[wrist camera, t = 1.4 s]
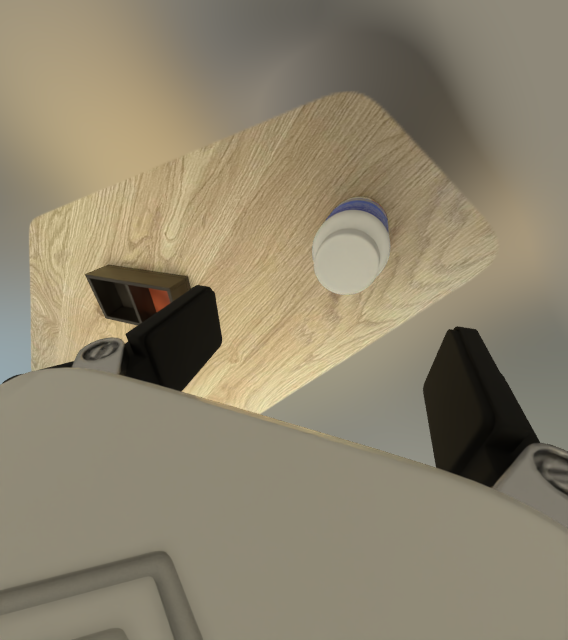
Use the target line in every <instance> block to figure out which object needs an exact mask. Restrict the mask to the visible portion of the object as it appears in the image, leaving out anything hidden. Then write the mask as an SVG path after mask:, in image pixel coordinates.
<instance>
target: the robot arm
mask: <svg viewBox="0 0 568 640" xmlns="http://www.w3.org/2000/svg"><path fill="white" fill-rule="evenodd" d="M126 336H127V339H128V342H127V343H126V344H124V342H123V341H122V340H121V339H119V338H104V339H100V340H97V341H95V342H92V343H90V344H88V345H87V346H85V347H84V348H82V349H81V350H80V351H79V353H78V354H77V356H76V358H75V361H73V362H69V363H65V364H61V365H57V366H53V367H49V368H45V369H41V370H37V371H32V372H28V373H25V374H20V375H16V376H13V377H11V378H9V379H7V380H6V381H4V382H3V384H1V385H0V640H568V451H566V450H564V449H561V448H559V447H556V446H553V445H550V444H544V443H540V442H539V440H538V438H537V436H536V434H535V433H534V431H533V429H532V427H531V425H530V423H529V422H528V420H527V418H526V416H525V414H524V413H523V411H522V409H521V407H520V405H519V404H518V402H517V400H516V398H515V396H514V394H513V393H512V391H511V389H510V387H509V385H508V383H507V382H506V381H505V378H504V376H503V375H502V374H501V373H500V371H499V370H498V368H497V366H496V364H495V362H494V361H493V359H492V357H491V355H490V353H489V351H488V349H487V348H486V346H485V344H484V342H483V340H482V339H481V336H480V335H479V333H478V331H477V330H476V329H470V328H464V327H455V328H454V330H450V329H449V330H448V331H447V333H446V335H445V337H444V340H443V342H442V344H441V346H440V349H439V351H438V353H437V356H436V358H435V360H434V362H433V365H432V367H431V369H430V371H429V374H428V376H427V378H426V381H425V383H424V387H423V394H424V399H425V405H426V411H427V416H428V423H429V429H430V434H431V440H432V446H433V452H434V458H435V463H436V468H435V467H432V466H429V465H426V464H423V463H420V462H416V461H413V460H410V459H406V458H403V457H400V456H397V455H394V454H391V453H388V452H384V451H381V450H378V449H375V448H371V447H368V446H365V445H361V444H358V443H354V442H351V441H348V440H344V439H341V438H338V437H334V436H331V435H328V434H324V433H321V432H317V431H314V430H311V429H308V428H304V427H300V426H298V425H294V424H291V423H287V422H284V421H281V420H277V419H274V418H270V417H267V416H263V415H260V414H257V413H253V412H250V411H246V410H243V409H240V408H236V407H233V406H229V405H226V404H222V403H219V402H215V401H212V400H209V399H205V398H202V397H198V396H195V395H191V394H188V393H184V392H181V391H182V390H183V389H184V388H185V387H186V386H187V384H188V383H189V382H190V381H191V380H192V379H193V377H194V376H195V375H196V374H197V373H198V372H199V371H200V369H201V368H202V367H203V366H204V365H205V364H206V362H207V361H208V360H209V359H210V358H211V357H212V355H213V354H214V353H215V352H216V351H217V350H218V348H219V347H220V346H221V344H222V335H221V329H220V322H219V316H218V310H217V304H216V298H215V293H214V291H212V289H211V288H210V287H206V286H200V285H196V286H195V287H193V288H192V289H190V290H189V291H187V292H186V293H184V294H183V295H181V296H180V297H179V298H177V299H176V300H174V301H173V302H171V303H170V304H168V305H167V306H166V307H164V308H163V309H161V310H160V311H158V312H157V313H155V314H154V315H152V316H151V317H150V318H148V319H147V320H145V321H144V322H142V323H141V324H139V325H138V326H136V327H135V328H134V329H132V330H131V331H129V332H128V333H126Z"/></svg>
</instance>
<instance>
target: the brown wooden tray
mask: <svg viewBox="0 0 568 640" xmlns="http://www.w3.org/2000/svg"><path fill="white" fill-rule="evenodd" d="M85 276H86V278H87V280H88V282H89V284H90V286H91V288H92V290H93V292H94V295H95V297H96V299H97V301H98V303H99V305H100V307H101V309H102V311H103V314H104V315H105V318H107V319H111V320H116V321H120V322H125V323H129V324H134V325H139V324H141V323H142V322H144V321H145V320H147V319H148V318H150V317H151V316H152V315H154V314H155V313H157V312H158V311H160V310H161V309H163V308H164V307H166V306H167V305H168V304H170V303H171V302H173V301H174V300H176V299H177V298H179V297H180V296H181V295H183V294H184V293H186V292H187V291H189V290H190V285H189V280H188V277H187V276H180V275H173V274H167V273H160V272H153V271H146V270H140V269H133V268H126V267H119V266H112V265H107V266H104V267H102V268H99V269H97V270H94V271H92V272H89V273H87V274H85Z"/></svg>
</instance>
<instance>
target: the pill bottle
mask: <svg viewBox="0 0 568 640" xmlns="http://www.w3.org/2000/svg"><path fill="white" fill-rule="evenodd" d="M389 255H390V238H389V230H388V219H387V215H386V213H385V211H384V209H383V208H382V206H381V205H380V204H379V203H377V202H376V201H374V200H372V199H370V198H366V197H353V198H349V199H347V200H345V201H343V202H342V203H340V204H339V205H338V206H337V207H336V208H335V209H334V210H333V211H332V213H331V214H330V215H329V216H328V218H327V219H326V220H325V222H324V223H323V224H322V225H321V227H320V228H319V230H318V231H317V233H316V235H315V237H314V240H313V245H312V257H313V261H314V270H315V274H316V276H317V279H318V280H319V282H320V283H321V284H322V285H323V286H324V287H325V288H326V289H328V290H329V291H331V292H333V293H336V294H341V295H351V294H356V293H359V292H361V291H363V290H365V289H366V288H367V287H369V286H370V285H371V284H372V282H373V281H374V280H375V278H376V277H377V276H378V275H379V274H380V273H381V272H382V270H383V269H384V267H385V266H386V264H387V261H388V259H389Z"/></svg>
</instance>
